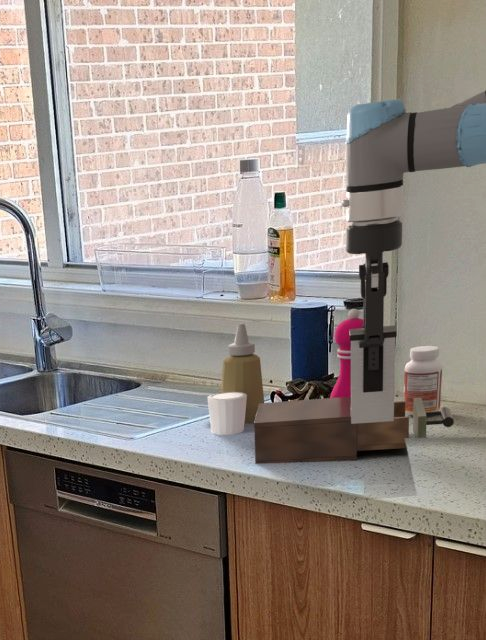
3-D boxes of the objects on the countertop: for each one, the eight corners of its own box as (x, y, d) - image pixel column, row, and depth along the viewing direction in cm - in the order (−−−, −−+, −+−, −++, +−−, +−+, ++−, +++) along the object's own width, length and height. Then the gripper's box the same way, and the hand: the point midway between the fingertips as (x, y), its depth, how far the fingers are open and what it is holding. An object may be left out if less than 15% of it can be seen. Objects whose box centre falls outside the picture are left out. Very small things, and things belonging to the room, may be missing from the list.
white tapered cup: (206, 439, 217) (205, 400, 214) (210, 430, 223) (209, 392, 220) (245, 438, 215) (245, 398, 212) (248, 429, 221) (248, 390, 218)
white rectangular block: (393, 413, 184) (395, 325, 179) (395, 421, 179) (396, 331, 174) (349, 416, 186) (349, 329, 181) (349, 424, 181) (349, 335, 176)
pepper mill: (329, 433, 209) (332, 313, 201) (327, 423, 216) (330, 307, 208) (373, 431, 208) (378, 310, 199) (370, 421, 214) (375, 304, 206)
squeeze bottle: (269, 418, 226) (270, 319, 219) (256, 428, 220) (256, 327, 213) (227, 417, 230) (226, 320, 223) (213, 428, 224) (212, 327, 217)
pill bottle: (414, 407, 219) (417, 344, 214) (446, 409, 214) (450, 345, 210) (395, 414, 215) (398, 350, 211) (428, 417, 211) (432, 352, 206)
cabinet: (355, 438, 205) (355, 396, 202) (356, 460, 192) (356, 415, 189) (260, 444, 210) (259, 403, 207) (255, 466, 197) (253, 423, 194)
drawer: (448, 427, 199) (449, 395, 197) (454, 448, 188) (456, 414, 186) (328, 435, 205) (328, 404, 203) (328, 455, 194) (328, 422, 192)
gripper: (345, 219, 180) (345, 377, 190) (346, 230, 165) (346, 402, 174) (399, 213, 178) (396, 373, 187) (405, 224, 162) (402, 398, 172)
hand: (372, 387), depth 181 cm, fingers closed on white rectangular block, 5 cm apart
